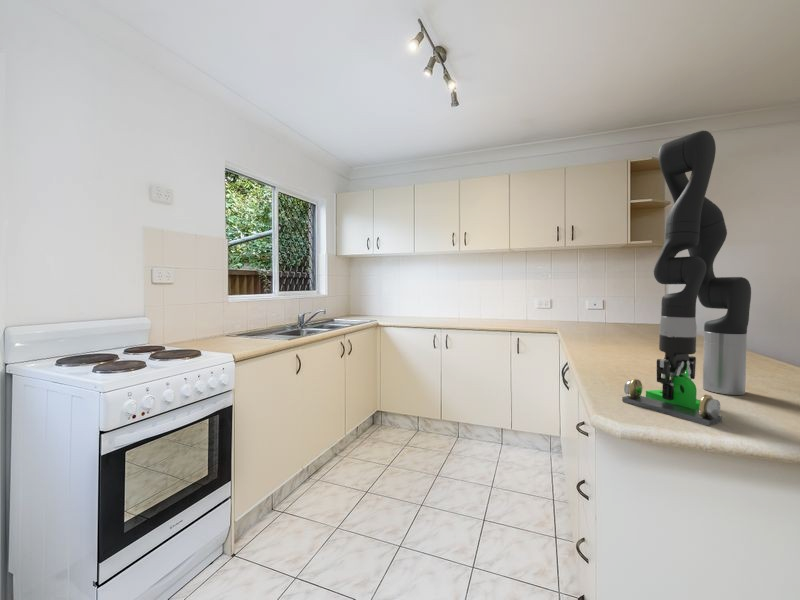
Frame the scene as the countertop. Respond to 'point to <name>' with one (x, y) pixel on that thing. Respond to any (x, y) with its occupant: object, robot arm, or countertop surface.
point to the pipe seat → (704, 415)
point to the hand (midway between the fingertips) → (675, 397)
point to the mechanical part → (679, 394)
